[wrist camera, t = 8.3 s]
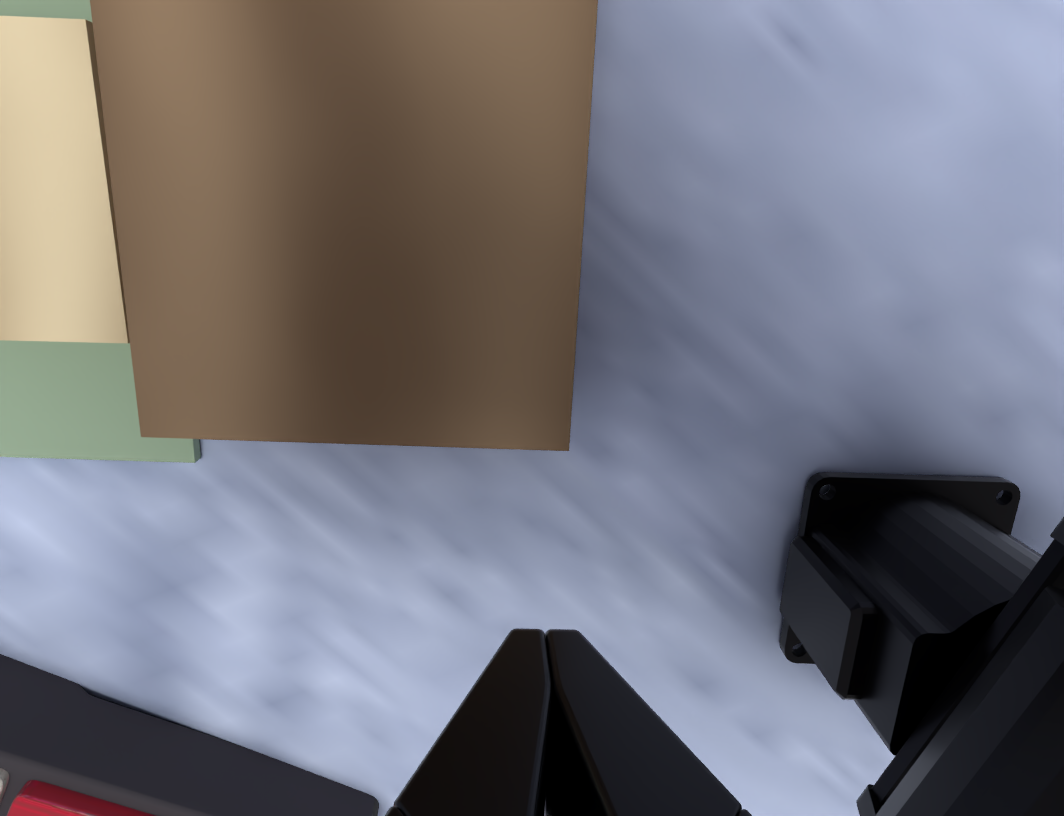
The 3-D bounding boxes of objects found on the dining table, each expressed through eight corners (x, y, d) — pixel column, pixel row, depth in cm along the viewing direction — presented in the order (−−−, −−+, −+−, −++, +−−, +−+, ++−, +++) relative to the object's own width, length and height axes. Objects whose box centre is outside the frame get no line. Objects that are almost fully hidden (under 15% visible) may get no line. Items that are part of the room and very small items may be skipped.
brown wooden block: (584, -61, 17) (606, -142, 13) (557, 405, 20) (568, 451, 16) (171, -88, 16) (69, -180, 13) (212, 393, 20) (140, 437, 16)
